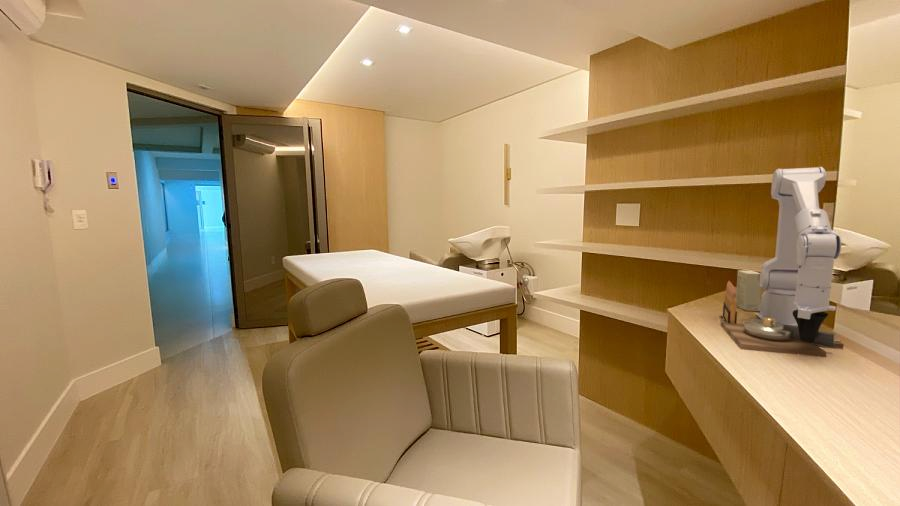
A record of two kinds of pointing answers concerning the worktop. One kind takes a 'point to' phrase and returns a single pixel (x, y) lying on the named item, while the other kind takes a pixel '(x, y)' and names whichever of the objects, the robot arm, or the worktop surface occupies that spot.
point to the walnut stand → (774, 342)
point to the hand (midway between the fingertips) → (807, 341)
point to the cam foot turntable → (783, 331)
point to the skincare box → (748, 290)
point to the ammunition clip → (730, 304)
